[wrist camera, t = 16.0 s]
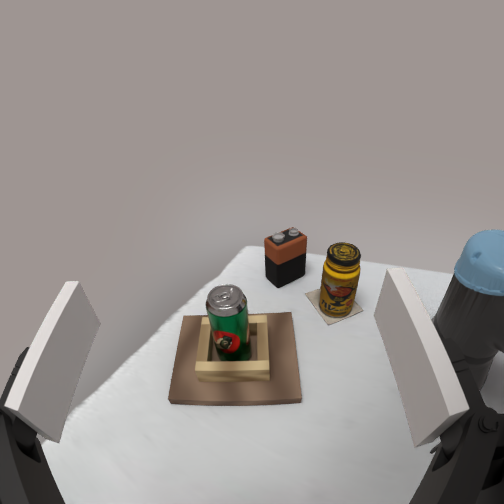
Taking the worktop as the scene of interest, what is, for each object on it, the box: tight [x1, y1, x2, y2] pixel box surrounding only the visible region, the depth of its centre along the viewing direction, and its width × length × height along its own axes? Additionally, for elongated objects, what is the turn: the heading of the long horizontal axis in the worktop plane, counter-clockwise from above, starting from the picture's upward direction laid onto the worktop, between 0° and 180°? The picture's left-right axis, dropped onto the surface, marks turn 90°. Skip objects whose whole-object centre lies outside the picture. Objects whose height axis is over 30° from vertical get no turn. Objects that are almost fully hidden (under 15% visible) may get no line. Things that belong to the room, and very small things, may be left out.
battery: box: [264, 227, 307, 287], centre depth 57 cm, size 4×7×10 cm, turn 122°
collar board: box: [168, 312, 302, 406], centre depth 43 cm, size 18×16×4 cm
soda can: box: [206, 284, 252, 362], centre depth 40 cm, size 5×5×12 cm
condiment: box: [305, 243, 363, 325], centre depth 49 cm, size 7×8×12 cm
